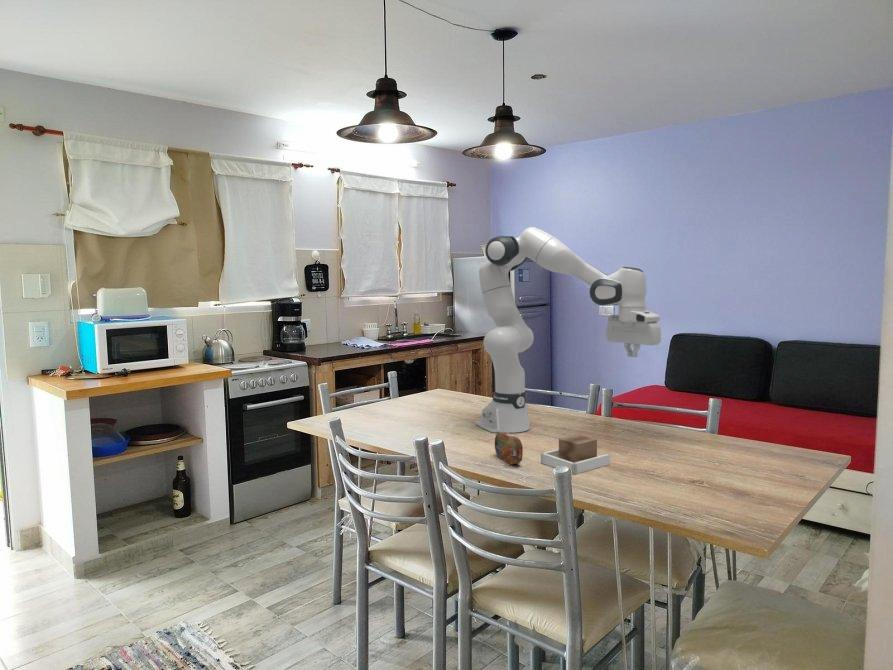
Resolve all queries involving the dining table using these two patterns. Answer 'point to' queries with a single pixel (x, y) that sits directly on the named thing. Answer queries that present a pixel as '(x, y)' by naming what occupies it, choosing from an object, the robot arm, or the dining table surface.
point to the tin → (508, 448)
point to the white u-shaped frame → (553, 460)
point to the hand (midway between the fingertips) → (632, 356)
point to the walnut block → (577, 448)
